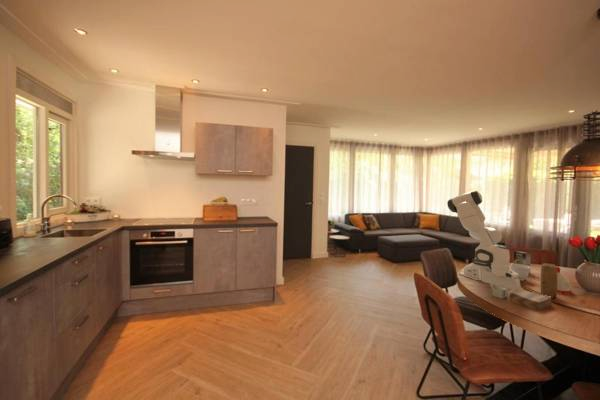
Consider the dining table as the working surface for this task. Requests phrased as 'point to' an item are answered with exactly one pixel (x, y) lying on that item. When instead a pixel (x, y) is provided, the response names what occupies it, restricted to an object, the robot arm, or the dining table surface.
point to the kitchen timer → (562, 283)
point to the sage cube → (499, 292)
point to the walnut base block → (530, 299)
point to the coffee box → (522, 258)
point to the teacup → (520, 270)
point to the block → (549, 279)
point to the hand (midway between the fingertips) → (499, 293)
